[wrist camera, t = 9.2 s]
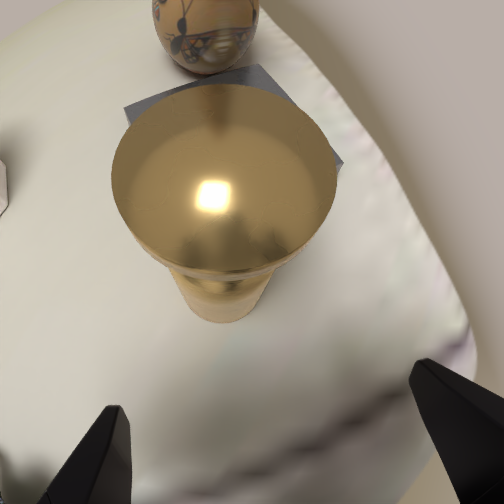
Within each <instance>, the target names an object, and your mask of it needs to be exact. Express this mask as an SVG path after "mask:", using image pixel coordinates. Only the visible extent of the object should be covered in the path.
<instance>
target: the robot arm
mask: <svg viewBox="0 0 504 504" xmlns="http://www.w3.org/2000/svg"><path fill="white" fill-rule="evenodd" d="M409 385H410V387H411V390H412V393H413V395H414V398H415V401H416V403H417V406H418V409H419V412H420V414H421V417H422V419H423V422H424V424H425V426H426V428H427V430H428V432H429V434H430V437H431V439H432V441H433V443H434V445H435V447H436V449H437V451H438V453H439V456H440V458H441V460H442V462H443V464H444V467H445V469H446V471H447V474H448V476H449V478H450V480H451V483H452V485H453V487H454V490H455V492H456V494H457V497H458V499H459V501H460V504H504V398H502V397H500V396H498V395H496V394H494V393H493V392H491V391H489V390H487V389H485V388H483V387H481V386H480V385H478V384H476V383H474V382H472V381H470V380H468V379H466V378H465V377H463V376H461V375H459V374H457V373H455V372H453V371H452V370H450V369H448V368H446V367H444V366H442V365H440V364H439V363H437V362H435V361H433V360H431V359H429V358H423V359H420V360H417V361H416V362H415V364H414V366H413V369H412V371H411V374H410V376H409ZM131 489H132V458H131V435H130V423H129V421H128V419H127V417H126V414H125V412H124V410H123V408H122V407H121V406H120V405H108V406H106V407H105V408H104V410H103V411H102V412H101V414H100V415H99V416H98V418H97V419H96V421H95V422H94V423H93V425H92V426H91V427H90V429H89V430H88V432H87V433H86V434H85V436H84V437H83V438H82V440H81V441H80V443H79V444H78V445H77V447H76V448H75V450H74V451H73V452H72V454H71V455H70V456H69V458H68V459H67V461H66V462H65V464H64V465H63V466H62V468H61V469H60V471H59V472H58V473H57V475H56V476H55V478H54V479H53V480H52V482H51V483H50V485H49V486H48V488H47V489H46V490H47V491H45V492H44V493H43V495H42V496H41V497H40V499H39V500H38V502H37V503H36V504H131Z"/></svg>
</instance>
